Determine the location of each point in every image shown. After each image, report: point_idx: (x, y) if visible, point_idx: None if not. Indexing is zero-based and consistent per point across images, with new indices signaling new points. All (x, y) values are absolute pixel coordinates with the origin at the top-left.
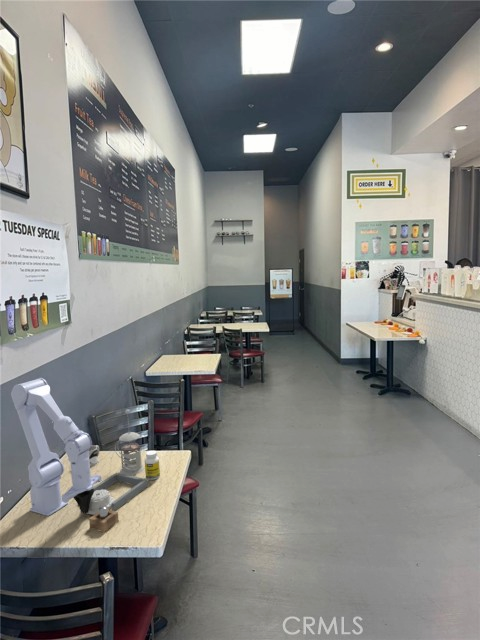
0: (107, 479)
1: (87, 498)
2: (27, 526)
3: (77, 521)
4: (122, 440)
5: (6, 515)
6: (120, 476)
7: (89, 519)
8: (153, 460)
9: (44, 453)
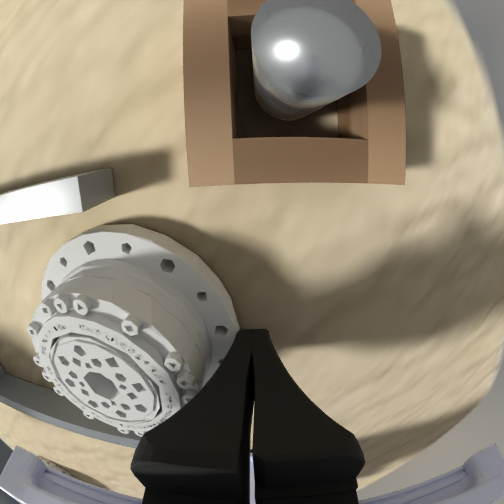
0: (22, 408)
1: (257, 417)
2: (399, 440)
3: (330, 321)
4: None
5: None
6: None
7: (400, 178)
8: None
9: None
